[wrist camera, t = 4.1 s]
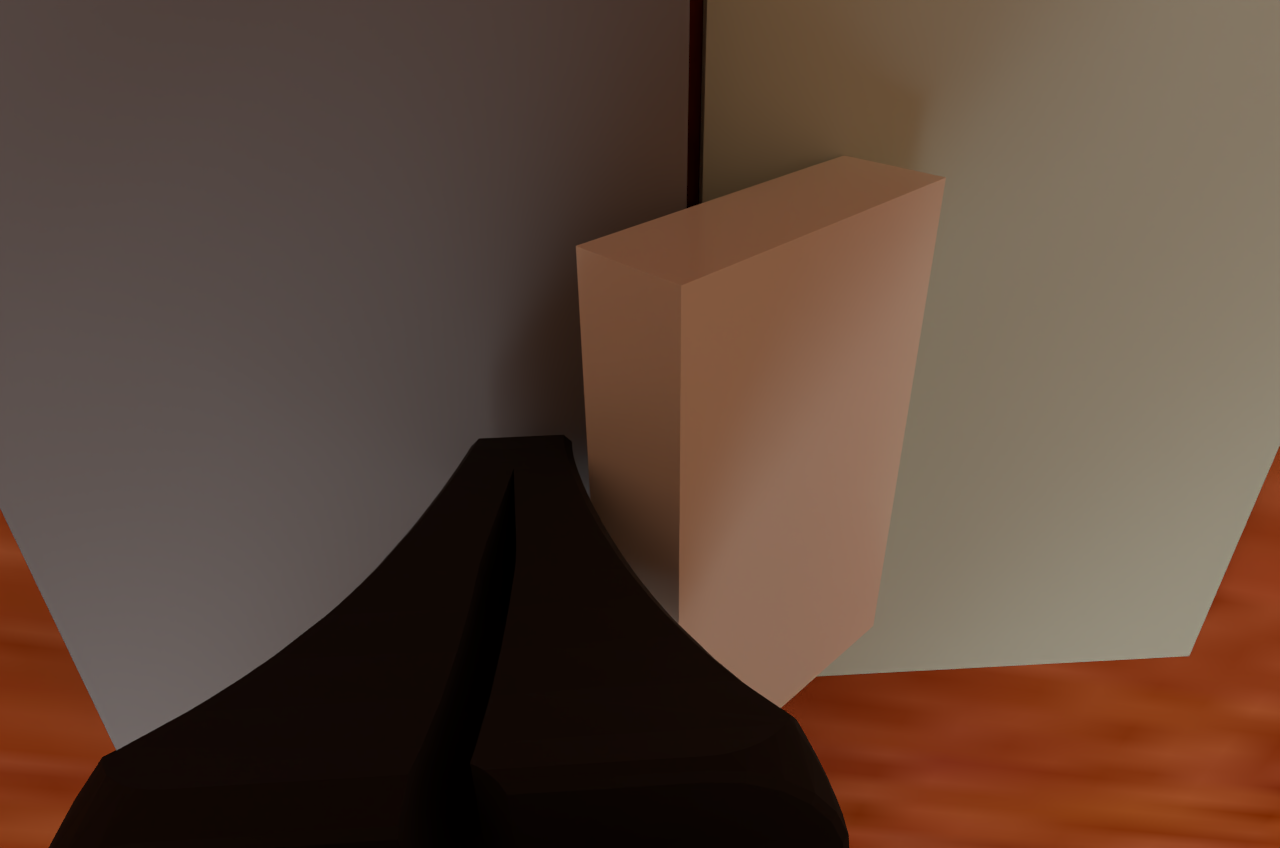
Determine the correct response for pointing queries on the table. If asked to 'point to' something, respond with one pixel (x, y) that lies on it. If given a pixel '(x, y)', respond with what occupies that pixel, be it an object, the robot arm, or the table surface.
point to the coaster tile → (760, 405)
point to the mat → (1047, 297)
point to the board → (292, 292)
